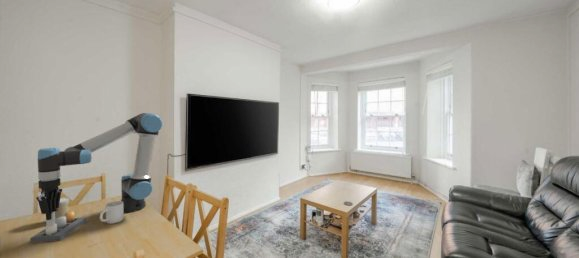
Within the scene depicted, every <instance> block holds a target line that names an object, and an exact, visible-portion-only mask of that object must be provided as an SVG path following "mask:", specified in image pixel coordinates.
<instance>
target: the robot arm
mask: <svg viewBox="0 0 579 258" xmlns="http://www.w3.org/2000/svg"><path fill="white" fill-rule="evenodd" d="M162 127H163V120H162V118H161V117H160V116H159V115H157V114H155V113H147V112H141V113H139V114H137V115H134V116H133V117H131V118H130V119H127V120H125V122H124V123H122V124H120V125H118V126H115V127H114V128H111V129H108V130H107V131H105V132H102V133H100V134H98V135H95V136H94V137H91V138H89V139H87V140H85V141H83V142H80V143H78V144H77V145H74V146H69V147H67V148H66V149H64V150H60V148H59V147H44V148H40V149H39V150H38V151H37V171H38V176H37V177H38V180H39V181H37V182H38V189H40V190H41V191H40V195H39V196H37V197H36V198H35V199H36V200H37V201H38V205H39V210H40V212H41V215H45V220H46V221H45V225H46V226H52V225H55V211H58V209H57V208H59V203H60V198H62V197H61V196H62V192H63V188H59V186H61V167H65V166H67V167H68V166H76V165H85V164H90V163H91V162H92V153H94V152H96V151H98V150H100V149H102V148H105V147H106V146H109V145H110V144H113V143H115V142H117V141H119V140H121V139H123V138H125V137H127V136H129V135H132V134H137V135H138V143H137V149H136V155H135V156H136V157H135V161H134V167H133V173H129V174H124V175H122V176H121V180H120V182H121V184H120V185H121V186H120V187H121V199H120V201H122V202H123V208H124V213H131V212H137V211H139V210H142V209H145V208H146V205H147V204H146V203H147V202H146V200H145V199H146V198H147V197H149V196H150V195H151V194H152V193H153V185H152V175H150V171H151V167H152V158H153V153H154V147H155V139H156V138H157V137H158V136H159V133H160V130H161V129H162Z"/></svg>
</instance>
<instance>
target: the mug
mask: <svg viewBox="0 0 579 258" xmlns="http://www.w3.org/2000/svg"><path fill="white" fill-rule="evenodd" d="M124 213H125V212H124V208H123V202H122V201H121V200H117V201H112V202H109V203H107V204H105V208H104V209H102V210H101V211H100V213H99V220H100V222H103V223H104V222H105V223H107V224H111V225H112V224H117V223H120V222H121V221H123V220H124ZM104 214H105V218H104V217H103V216H104Z"/></svg>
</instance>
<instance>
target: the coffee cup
mask: <svg viewBox="0 0 579 258" xmlns="http://www.w3.org/2000/svg"><path fill="white" fill-rule="evenodd" d="M69 208H70V199H69V197H60V203H59V208H57V209H58V211H55V219H56V218H58V217H62V216H65V213H67V212H69ZM55 223H56V220H55Z"/></svg>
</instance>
